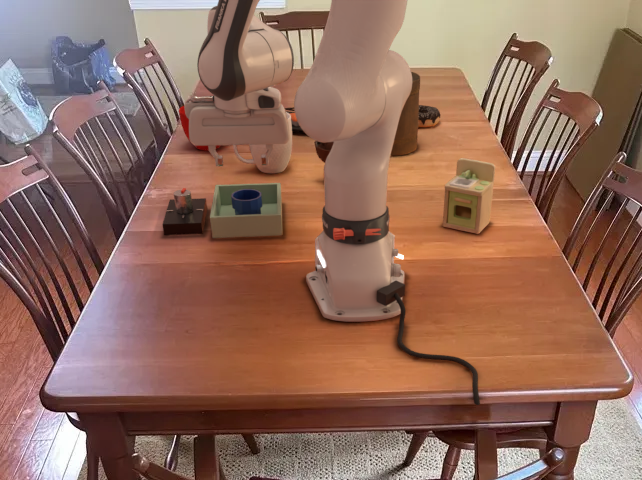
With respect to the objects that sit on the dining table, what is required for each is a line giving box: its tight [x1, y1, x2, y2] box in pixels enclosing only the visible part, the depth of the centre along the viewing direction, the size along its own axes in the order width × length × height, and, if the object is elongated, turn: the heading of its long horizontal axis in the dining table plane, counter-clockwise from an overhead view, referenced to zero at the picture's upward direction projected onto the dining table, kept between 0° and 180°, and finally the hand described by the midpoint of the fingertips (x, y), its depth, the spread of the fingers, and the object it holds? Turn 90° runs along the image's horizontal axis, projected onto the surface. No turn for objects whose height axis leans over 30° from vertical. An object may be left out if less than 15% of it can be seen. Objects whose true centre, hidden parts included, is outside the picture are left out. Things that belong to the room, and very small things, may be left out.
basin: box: [209, 182, 283, 239], centre depth 153 cm, size 18×15×5 cm
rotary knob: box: [173, 187, 193, 214], centre depth 150 cm, size 4×4×4 cm
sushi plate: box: [284, 106, 306, 134], centre depth 211 cm, size 29×30×4 cm
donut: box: [418, 104, 441, 128], centre depth 207 cm, size 11×12×4 cm
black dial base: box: [162, 197, 208, 236], centre depth 152 cm, size 13×8×3 cm, turn 5°
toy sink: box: [442, 157, 496, 235], centre depth 149 cm, size 8×7×13 cm
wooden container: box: [390, 71, 421, 157], centre depth 185 cm, size 15×15×22 cm
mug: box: [232, 112, 293, 174], centre depth 175 cm, size 15×11×13 cm
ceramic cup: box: [178, 105, 221, 151], centre depth 188 cm, size 13×17×10 cm
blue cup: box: [231, 189, 262, 215], centre depth 152 cm, size 6×6×6 cm
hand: (242, 164), depth 147 cm, fingers open, 8 cm apart
